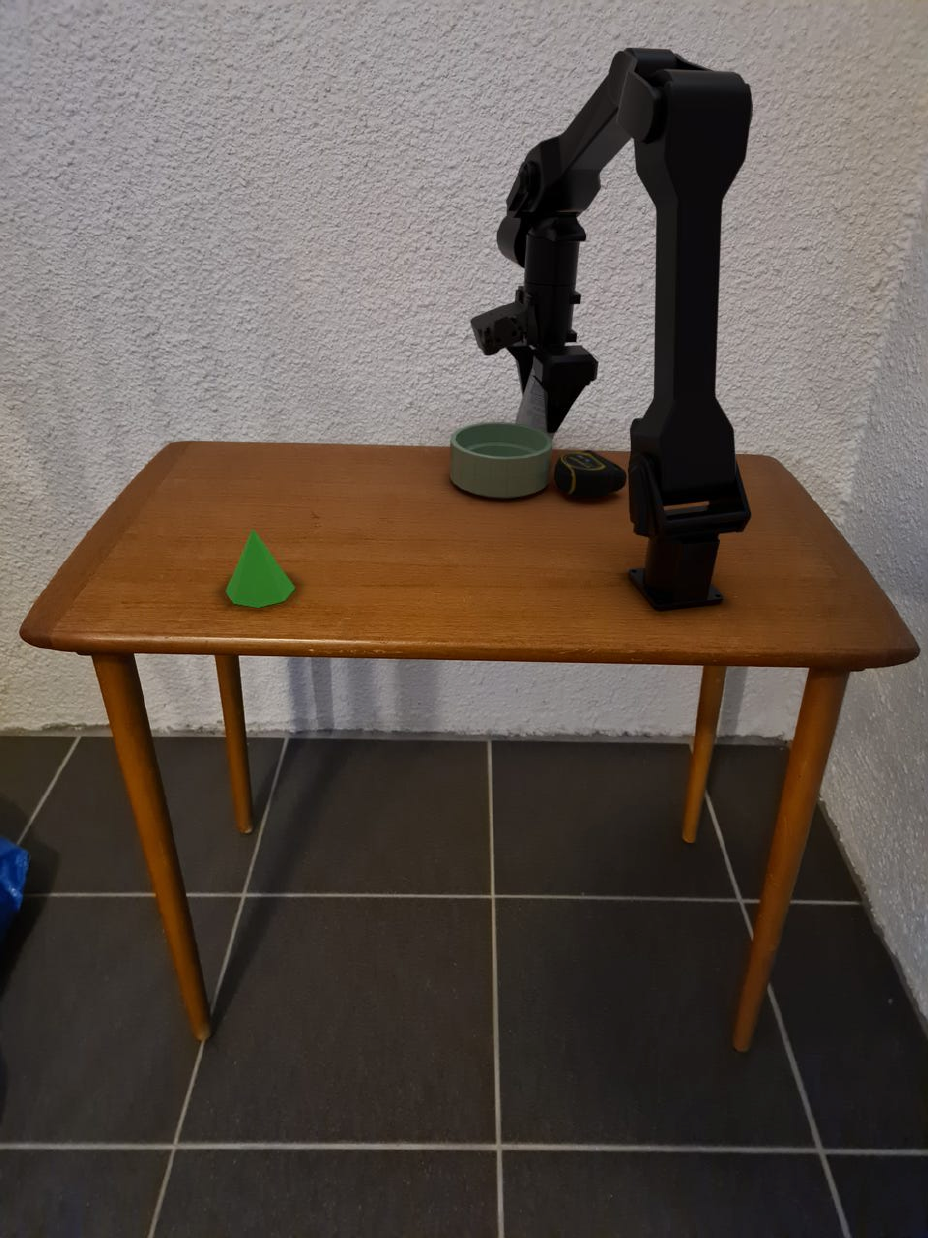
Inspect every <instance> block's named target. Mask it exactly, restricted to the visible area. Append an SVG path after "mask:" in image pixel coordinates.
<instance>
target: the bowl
mask: <svg viewBox="0 0 928 1238" xmlns="http://www.w3.org/2000/svg"><path fill="white" fill-rule="evenodd" d="M553 447H554V438H553V439H552V438H551V437H550V436H549V435H548V434H547V433H546V432H544V431H542V430H540V429H538V428H534V427H531V426H528V425H523V424H517V423H516V422H507V421H506V422H505V421H486V422H485V421H484V422H477V423H472V424H467V425H465V426H463V427H459V428H457V429H456V430H454V432H452V433H451V435H450V439H449V478H450V479H451V482H452V483H453V484H454V485H455V486H456V487H458V488H460V489H461V490H463V491H465V492H469V493H471V494H473V495H475V496H479V497H485V498H489V499H518V498H521V497H526V496H528V495H529V496H530V495H533V494H536V493H538V492H540V491H542V490H544V489H545V488H546V487H547V486H548V484H550V482H551V471H552V470H551V469H552V462H553V461H552V458H553V449H554V448H553Z"/></svg>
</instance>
